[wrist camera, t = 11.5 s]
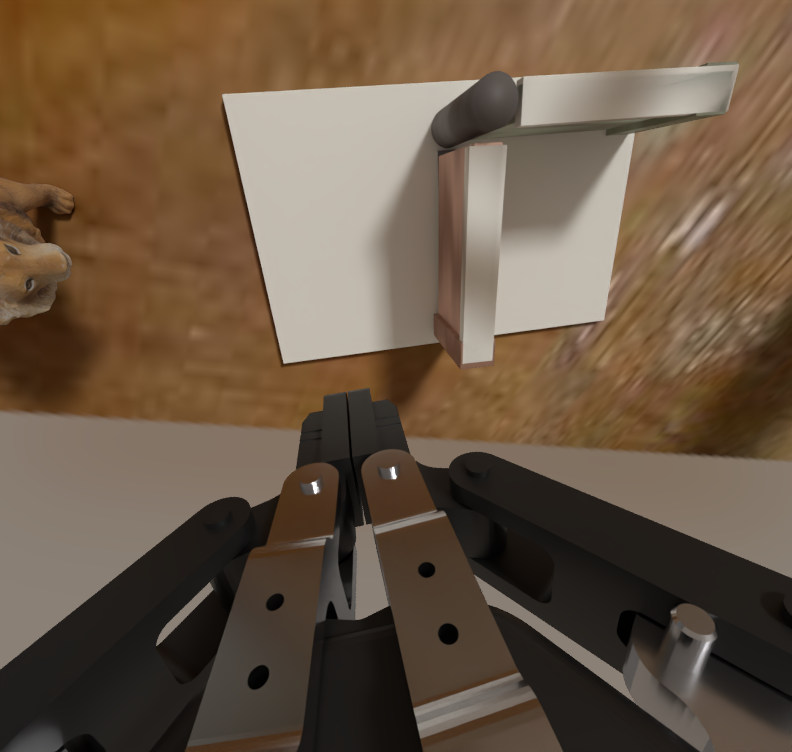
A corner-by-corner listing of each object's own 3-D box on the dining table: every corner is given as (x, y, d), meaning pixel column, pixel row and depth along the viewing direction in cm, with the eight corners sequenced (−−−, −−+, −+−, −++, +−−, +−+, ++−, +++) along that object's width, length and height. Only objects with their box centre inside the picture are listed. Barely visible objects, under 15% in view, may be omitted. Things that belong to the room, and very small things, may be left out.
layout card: (639, 72, 21) (646, 69, 20) (600, 318, 27) (604, 320, 26) (224, 96, 18) (221, 93, 18) (284, 361, 24) (283, 364, 24)
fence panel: (433, 156, 20) (467, 143, 15) (465, 155, 20) (509, 141, 16) (433, 334, 24) (460, 369, 20) (460, 332, 25) (493, 365, 20)
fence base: (635, 95, 21) (752, 57, 15) (629, 134, 22) (738, 111, 16) (430, 108, 20) (473, 72, 14) (431, 149, 20) (472, 130, 15)
